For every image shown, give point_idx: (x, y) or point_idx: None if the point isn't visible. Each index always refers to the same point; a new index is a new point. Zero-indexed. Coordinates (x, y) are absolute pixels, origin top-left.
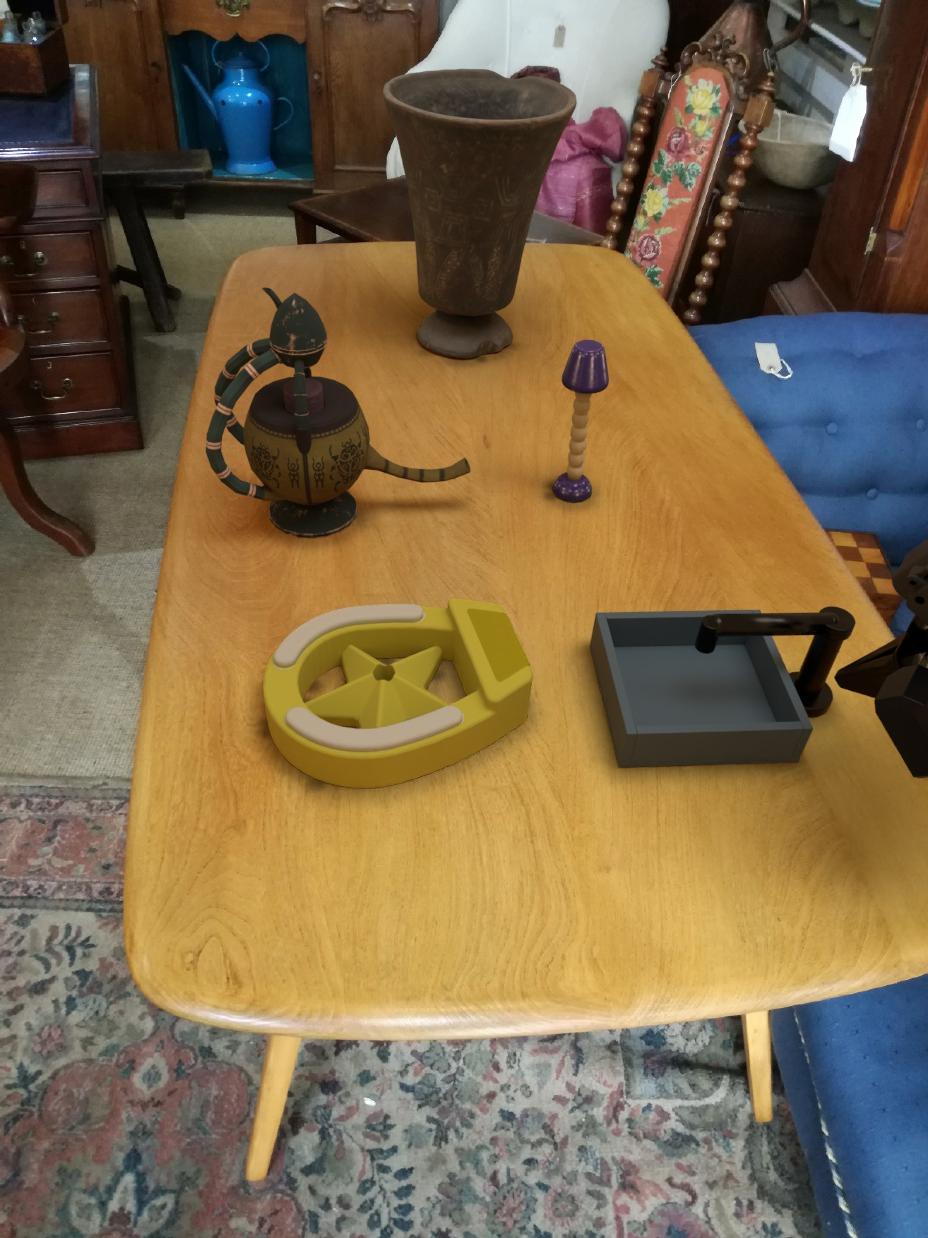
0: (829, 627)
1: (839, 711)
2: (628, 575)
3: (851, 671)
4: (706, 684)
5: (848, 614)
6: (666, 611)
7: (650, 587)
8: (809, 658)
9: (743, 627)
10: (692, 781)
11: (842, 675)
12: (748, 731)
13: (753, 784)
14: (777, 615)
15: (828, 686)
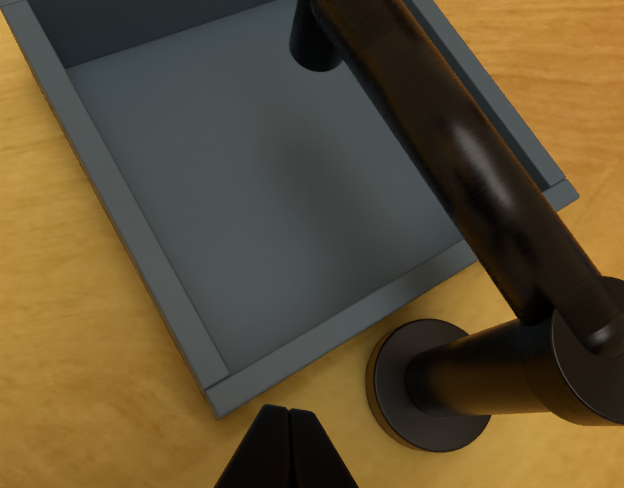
0: (548, 327)
1: (431, 479)
2: (542, 6)
3: (235, 471)
4: (337, 176)
5: None
6: (439, 10)
7: (538, 44)
8: (469, 339)
9: (364, 48)
10: (53, 210)
11: (246, 435)
12: (127, 247)
13: (98, 336)
14: (480, 130)
15: (477, 432)
